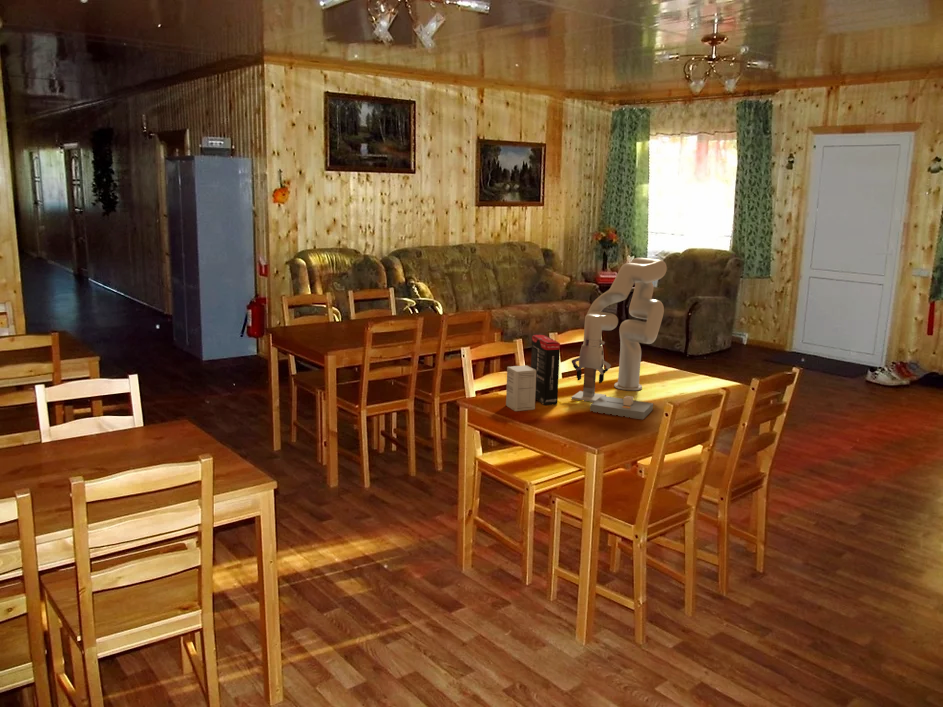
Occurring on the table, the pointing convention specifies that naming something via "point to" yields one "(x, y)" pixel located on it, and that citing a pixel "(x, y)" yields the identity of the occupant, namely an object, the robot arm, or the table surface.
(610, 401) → the switch board
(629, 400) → the switch tab
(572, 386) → the table surface
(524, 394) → the supplement box
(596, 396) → the mat
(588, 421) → the table surface
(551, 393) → the graphics card box
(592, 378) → the block
